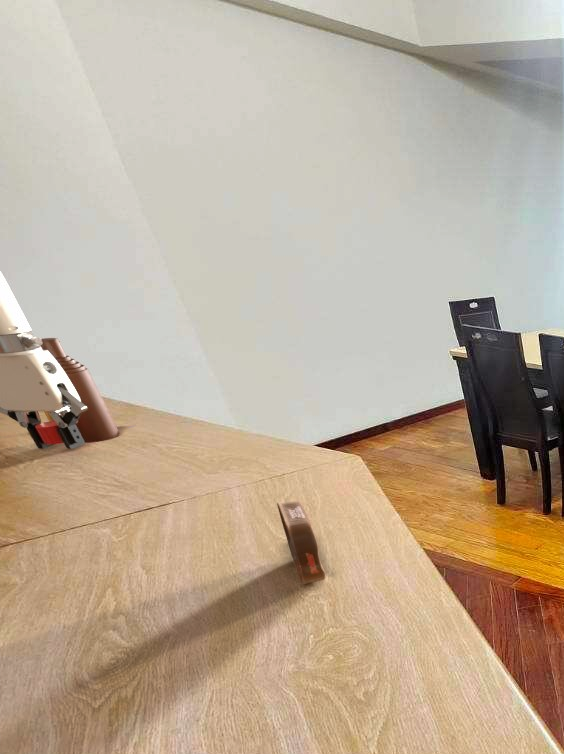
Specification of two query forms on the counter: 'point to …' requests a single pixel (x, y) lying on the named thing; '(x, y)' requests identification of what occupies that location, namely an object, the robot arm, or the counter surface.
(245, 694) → the counter surface
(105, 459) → the counter surface
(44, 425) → the cap
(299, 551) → the brown curved block
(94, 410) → the sauce bottle
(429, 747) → the counter surface
